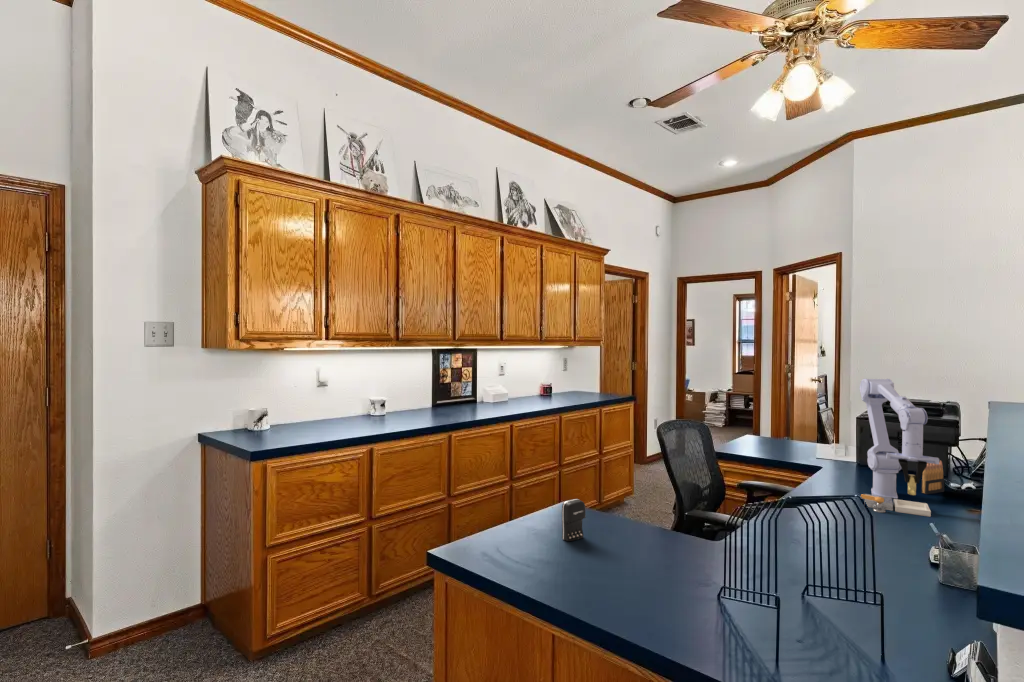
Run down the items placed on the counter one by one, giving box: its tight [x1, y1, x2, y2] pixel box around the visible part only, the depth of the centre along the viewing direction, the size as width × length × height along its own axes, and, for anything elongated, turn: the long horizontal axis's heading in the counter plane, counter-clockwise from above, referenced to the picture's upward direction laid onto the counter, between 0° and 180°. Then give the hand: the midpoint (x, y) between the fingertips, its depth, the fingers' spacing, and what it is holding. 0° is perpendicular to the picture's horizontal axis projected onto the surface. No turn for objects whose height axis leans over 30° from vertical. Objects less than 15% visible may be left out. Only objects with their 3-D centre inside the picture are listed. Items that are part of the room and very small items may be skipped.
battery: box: [561, 498, 587, 542], centre depth 161 cm, size 7×4×11 cm, turn 123°
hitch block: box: [864, 493, 894, 514], centre depth 190 cm, size 13×8×3 cm, turn 148°
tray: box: [892, 498, 932, 517], centre depth 187 cm, size 10×10×2 cm
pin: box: [907, 474, 917, 496], centre depth 187 cm, size 2×2×6 cm
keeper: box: [860, 493, 884, 502], centre depth 187 cm, size 7×3×1 cm, turn 44°
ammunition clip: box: [920, 459, 945, 495], centre depth 208 cm, size 11×2×12 cm, turn 110°
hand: (911, 482), depth 187 cm, fingers closed on pin, 2 cm apart
